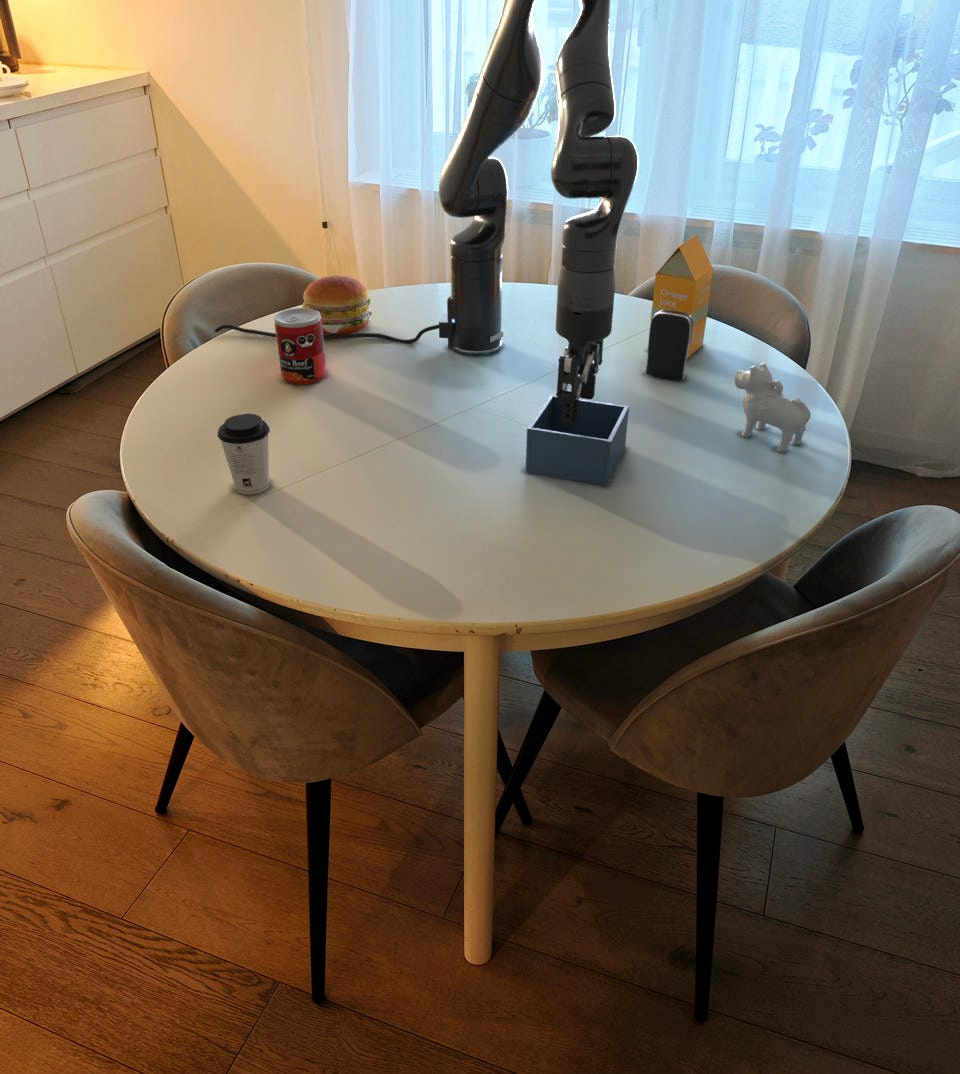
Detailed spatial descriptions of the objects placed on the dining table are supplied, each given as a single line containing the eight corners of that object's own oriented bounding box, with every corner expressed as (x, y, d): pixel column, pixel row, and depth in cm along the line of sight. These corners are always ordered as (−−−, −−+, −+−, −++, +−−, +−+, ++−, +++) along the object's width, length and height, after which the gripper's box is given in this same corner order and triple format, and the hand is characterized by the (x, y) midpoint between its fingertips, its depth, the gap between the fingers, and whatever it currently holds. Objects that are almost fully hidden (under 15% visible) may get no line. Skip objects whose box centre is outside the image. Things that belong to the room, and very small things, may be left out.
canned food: (273, 381, 157) (264, 320, 151) (297, 364, 163) (290, 305, 157) (311, 388, 155) (304, 326, 149) (334, 371, 161) (329, 311, 155)
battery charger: (688, 374, 160) (697, 311, 153) (682, 382, 157) (691, 318, 151) (649, 367, 162) (656, 305, 156) (643, 375, 159) (650, 312, 153)
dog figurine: (739, 417, 146) (750, 354, 140) (809, 445, 137) (823, 379, 132) (718, 427, 143) (729, 363, 137) (789, 456, 135) (803, 389, 129)
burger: (368, 340, 173) (364, 289, 167) (297, 340, 173) (291, 289, 168) (376, 316, 184) (373, 267, 179) (309, 316, 184) (304, 267, 179)
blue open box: (526, 428, 127) (611, 441, 123) (550, 394, 136) (629, 406, 133) (525, 472, 130) (607, 486, 127) (548, 436, 140) (625, 448, 137)
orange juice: (703, 345, 171) (718, 237, 160) (686, 360, 165) (700, 249, 154) (664, 336, 175) (677, 231, 164) (646, 351, 169) (657, 242, 158)
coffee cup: (253, 504, 123) (242, 438, 118) (216, 490, 126) (204, 425, 121) (287, 482, 128) (279, 418, 123) (251, 469, 131) (241, 406, 126)
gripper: (573, 279, 127) (567, 386, 136) (541, 312, 116) (537, 426, 125) (626, 286, 124) (616, 394, 133) (598, 320, 113) (589, 436, 122)
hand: (577, 410), depth 129 cm, fingers open, 8 cm apart
